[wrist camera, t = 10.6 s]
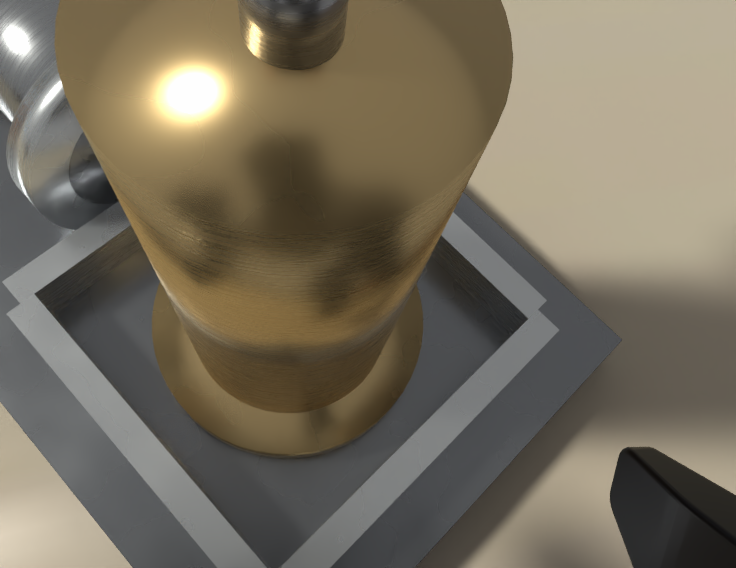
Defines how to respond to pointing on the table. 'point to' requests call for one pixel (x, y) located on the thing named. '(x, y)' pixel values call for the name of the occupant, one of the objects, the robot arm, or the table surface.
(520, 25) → the table surface
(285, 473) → the socket plate
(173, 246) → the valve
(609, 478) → the table surface
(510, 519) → the table surface
